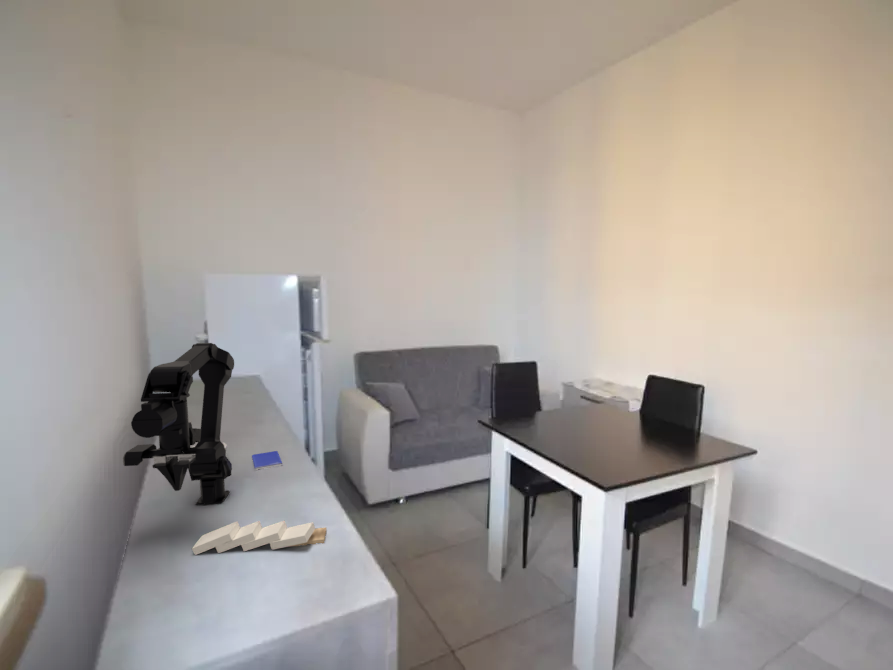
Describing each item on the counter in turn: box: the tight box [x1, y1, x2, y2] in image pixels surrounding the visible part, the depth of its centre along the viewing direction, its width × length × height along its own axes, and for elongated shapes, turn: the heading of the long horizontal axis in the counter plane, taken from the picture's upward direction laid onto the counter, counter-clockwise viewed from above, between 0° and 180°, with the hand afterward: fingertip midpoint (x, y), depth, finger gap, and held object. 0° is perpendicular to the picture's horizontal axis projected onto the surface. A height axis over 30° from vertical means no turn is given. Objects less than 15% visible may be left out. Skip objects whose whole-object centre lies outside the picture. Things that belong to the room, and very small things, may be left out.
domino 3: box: [241, 520, 288, 552], centre depth 95 cm, size 5×2×8 cm
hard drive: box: [251, 450, 284, 471], centre depth 142 cm, size 2×8×12 cm
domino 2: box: [215, 520, 263, 554], centre depth 95 cm, size 5×2×8 cm
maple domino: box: [286, 527, 327, 548], centre depth 97 cm, size 5×2×8 cm
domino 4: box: [269, 521, 316, 550], centre depth 95 cm, size 5×2×8 cm
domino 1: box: [191, 520, 241, 556], centre depth 94 cm, size 5×2×8 cm
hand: (178, 489), depth 97 cm, fingers closed
